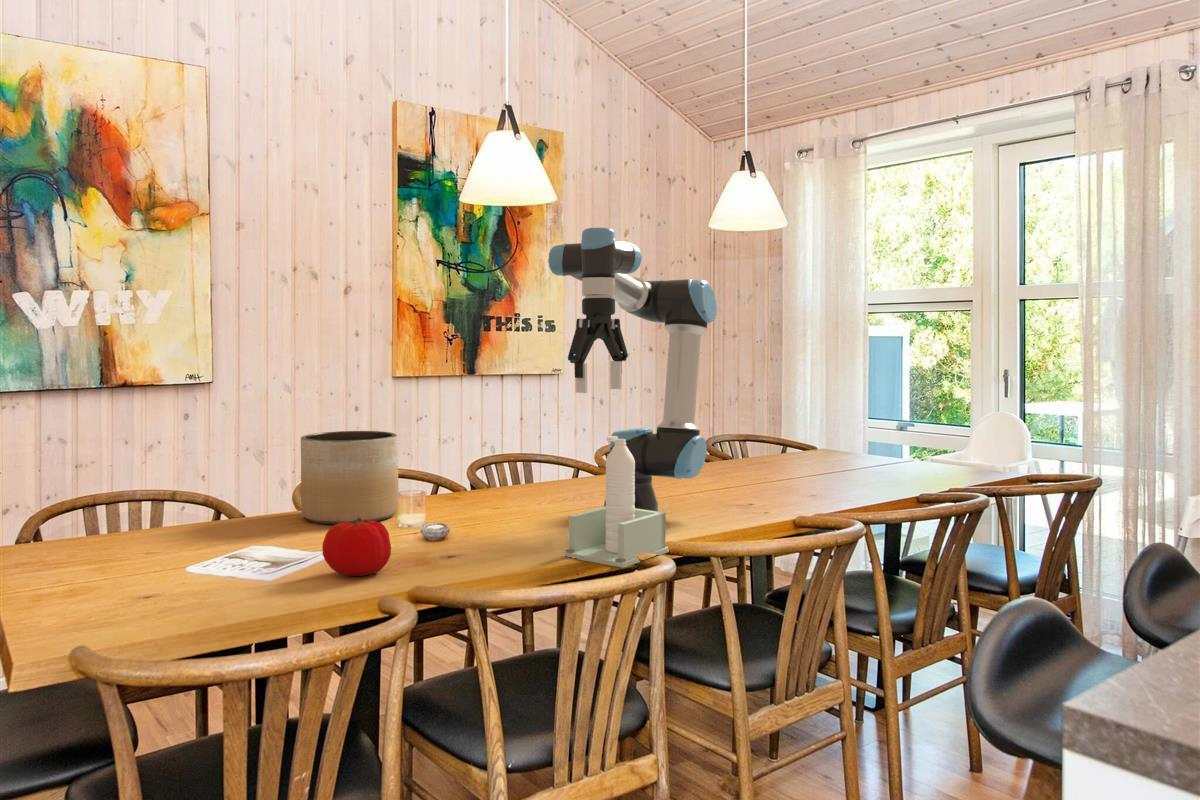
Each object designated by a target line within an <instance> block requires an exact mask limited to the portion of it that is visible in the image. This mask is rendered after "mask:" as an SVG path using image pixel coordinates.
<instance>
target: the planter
mask: <svg viewBox="0 0 1200 800" xmlns="http://www.w3.org/2000/svg"><path fill="white" fill-rule="evenodd" d="M398 467H399V463H398V435H397V434H396V433H394V432H389V431H381V430H345V431H343V430H341V431H327V432H316V433H310V434H306V435H303V436H301V437H300V497H301V498H300V503H301V504H300V507H301V509H300V510H301V515H302V517H303V518H304V519H306V520H307V521H310V522H311V523H317V524H323V525H336V524H339V523H340V522H345V521H354V520H355V519H357V518H361V519H369V520H373V521H376V522H380V521H383V520H386V519H389V518H391V517H393V516H394V515H395V514H396V513H397V512H398V511H399V509H398V498H399V499H400V497H399V496H400V494H399V493H400V492H399V470H398V469H399V468H398Z"/></svg>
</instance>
